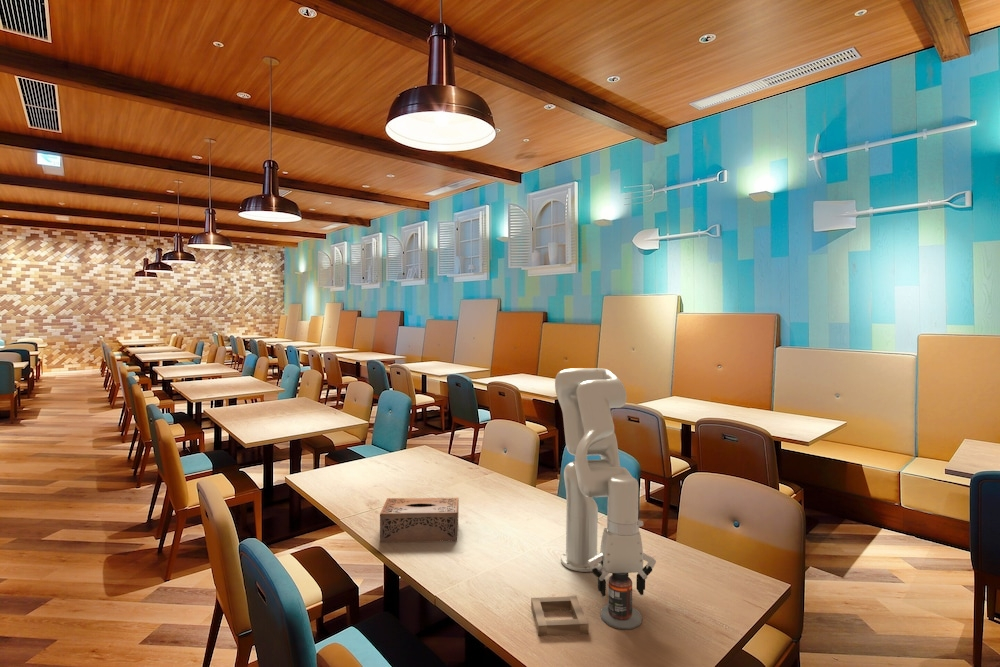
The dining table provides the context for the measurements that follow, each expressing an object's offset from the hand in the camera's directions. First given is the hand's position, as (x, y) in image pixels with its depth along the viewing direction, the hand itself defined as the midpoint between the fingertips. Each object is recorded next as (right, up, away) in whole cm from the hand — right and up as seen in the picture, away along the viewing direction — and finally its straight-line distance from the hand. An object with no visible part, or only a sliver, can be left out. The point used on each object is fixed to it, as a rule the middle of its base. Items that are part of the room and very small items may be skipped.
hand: (621, 592), depth 128 cm
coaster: (0, -6, 0) cm, 6 cm away
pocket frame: (-16, -6, -1) cm, 17 cm away
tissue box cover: (-58, -5, +50) cm, 77 cm away
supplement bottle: (0, -6, 0) cm, 6 cm away
